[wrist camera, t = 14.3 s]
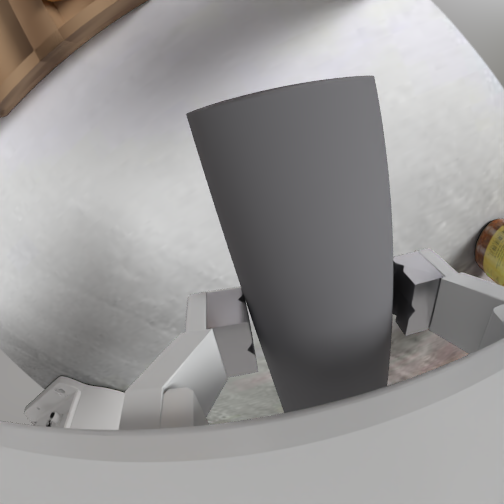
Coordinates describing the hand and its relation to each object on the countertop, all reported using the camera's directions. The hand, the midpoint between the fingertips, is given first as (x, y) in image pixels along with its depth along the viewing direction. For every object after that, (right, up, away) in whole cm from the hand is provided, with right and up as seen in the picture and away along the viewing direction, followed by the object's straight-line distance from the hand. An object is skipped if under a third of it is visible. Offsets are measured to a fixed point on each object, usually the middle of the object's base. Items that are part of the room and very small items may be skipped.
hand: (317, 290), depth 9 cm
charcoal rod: (0, +1, +1) cm, 2 cm away
